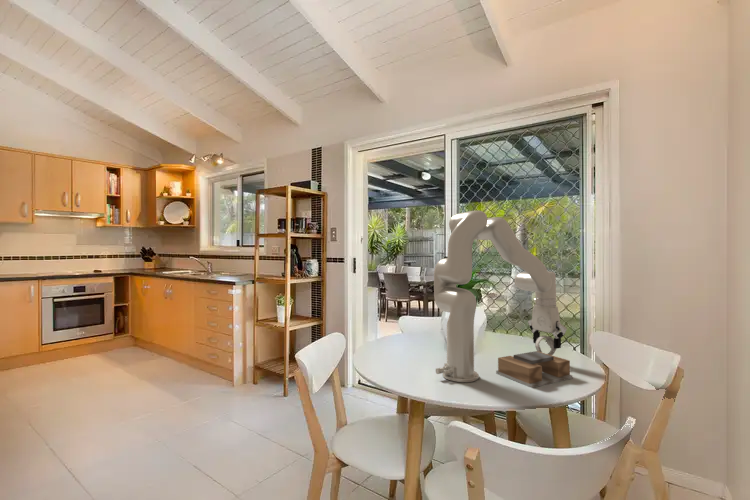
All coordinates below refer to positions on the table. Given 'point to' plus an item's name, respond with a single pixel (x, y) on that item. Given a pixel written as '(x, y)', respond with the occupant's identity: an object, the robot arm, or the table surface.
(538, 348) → the watch
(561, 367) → the watch stand
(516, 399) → the table surface
